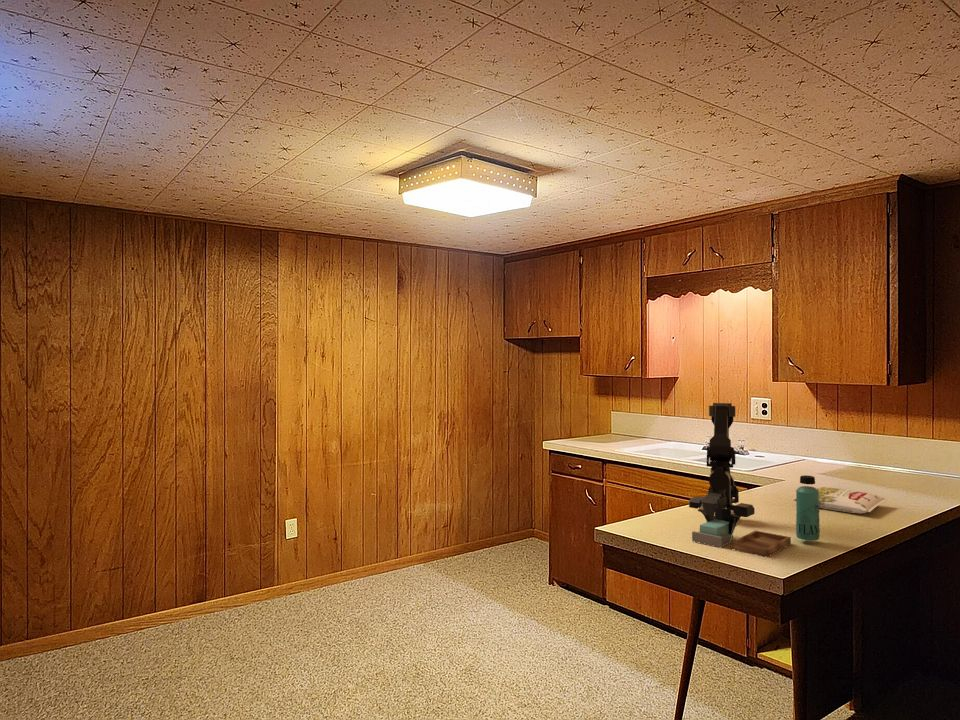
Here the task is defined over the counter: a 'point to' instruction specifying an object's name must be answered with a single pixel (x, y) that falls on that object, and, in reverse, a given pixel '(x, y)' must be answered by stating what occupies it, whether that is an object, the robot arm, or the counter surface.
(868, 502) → the frozen beans
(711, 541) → the dock
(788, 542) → the tray
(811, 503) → the beverage bottle
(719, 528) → the mint rectangular block
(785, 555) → the counter surface
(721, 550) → the counter surface
